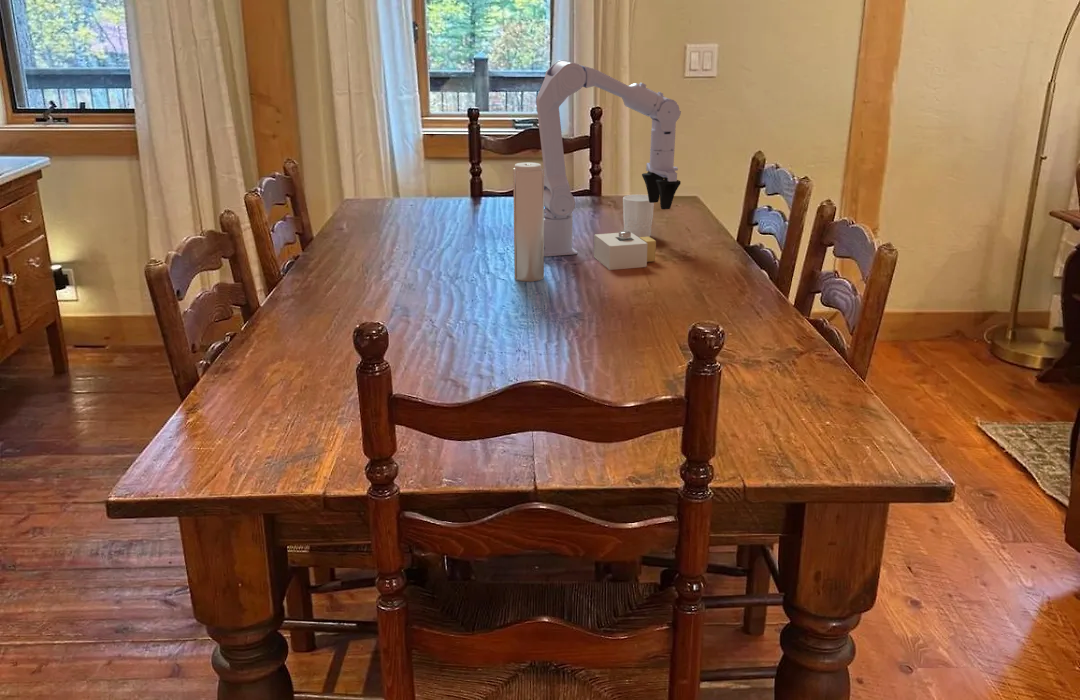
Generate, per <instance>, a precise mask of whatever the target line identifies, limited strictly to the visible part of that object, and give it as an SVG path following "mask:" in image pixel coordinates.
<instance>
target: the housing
mask: <svg viewBox="0 0 1080 700" xmlns="http://www.w3.org/2000/svg"><path fill="white" fill-rule="evenodd" d="M593 236H594V237H593V238H594V239H593V243H594V244H593V257H594V259H596V260H597V261H598V262H599V263H600V264H601V265H603V266H604V267H605V268H606V269H608V270H609V271H613V270H614V271H615V270H623V269H635V268H637V269H638V268H647V265H648V262H647V244H648V243H646V242H645V241H643V240H642V239H640V238H639V237H637V236H636V235H634V234H633V233H631V240H628V241H619V232H612V233H611V232H610V233H599V234H597V233H596V234H594V235H593Z"/></svg>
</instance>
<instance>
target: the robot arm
mask: <svg viewBox="0 0 1080 700" xmlns="http://www.w3.org/2000/svg"><path fill="white" fill-rule="evenodd" d="M593 87H596V88H598V89H600V90H603V91H605V92H607V93H608V94H609V93H610V94H612V95H614V96H617V97H619V98H621V99H622V101H623V104H624V107H626V108H628V109H630V110H633V111H635V112H637V113H639V114H642V115H644V116H645V117H649V118H650V119H651V131H650V149H649V150H650V151H649V153H650V154H649V162H646V168H645V169H646V170H645V171H646V172H645V173H644V172H643V173H642V174H641V177H642V179H643V180H644V183H645V186H646V191H647V195H648V198H649V202H650V203H654V204H655V203H660V209H661V210H670V209H671V207H672V204H673V201H674V197H675V194H676V192H677V191H678V189H679V186H680V185H681V181H680V180H679V179H678V172H677V171H678V170H679V168H678V166H674V165H675V164H674V163H675V147H676V146H675V145H676V125H677V122H678V121H679V119H680V116H681V113H682V111H681V110H680V106H679V104H678V102H677V101H675V100H674V99H671V98H668V97H666V96H664V92H661V91H657V92H656V91H655V90H652V89H650V88H647V84H646V83H644V82H639V83H637V82H634V83H631V84H629V85H627V84H625V83H623V82H621V81H620V80H618V79H616V78H615V77H612V76H610V75H608V74H606V73H605V72H602V71H601V70H598V69H596V68H594V67H589V66H585V65H583V64H582V65H581V64H579V63H577V62H570V61H568V60H565V59H560V60H556V62H554V63H553V64H552V65H551V66H550V67H549V68H548V69H546V72H545V75H544V79H543V82H542V83H541V87H540V88H539V91H538V94H537V96H536V101H535V103H536V111H537V119H538V129H539V137H540V139H539V140H540V148H541V157H542V165H543V169H544V258H545V257H554V256H569V255H577V254H579V253H578V251H577V250H576V249H575V248H573V224H574V223H573V220H574V219H573V215H574V213H573V212H574V210H575V207H576V200H575V197H574V196H573V194H572V192H571V187H570V183H569V180H568V177H567V174H566V164H565V163H566V162H565V155H564V144H563V134H562V133H563V132H562V124H561V116H560V106H561V105H562V104H563V103H564V102H565V101H566V100H567V99H568V97H570V96H572V95H573V94H576V93H577V92H579V91H580V90H581V89H582V88H586V89H588V88H593Z"/></svg>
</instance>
